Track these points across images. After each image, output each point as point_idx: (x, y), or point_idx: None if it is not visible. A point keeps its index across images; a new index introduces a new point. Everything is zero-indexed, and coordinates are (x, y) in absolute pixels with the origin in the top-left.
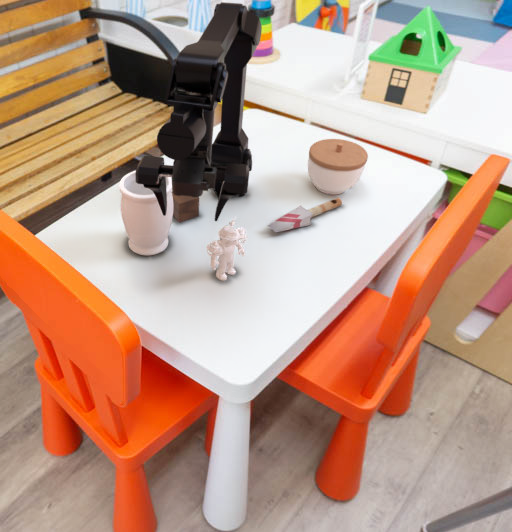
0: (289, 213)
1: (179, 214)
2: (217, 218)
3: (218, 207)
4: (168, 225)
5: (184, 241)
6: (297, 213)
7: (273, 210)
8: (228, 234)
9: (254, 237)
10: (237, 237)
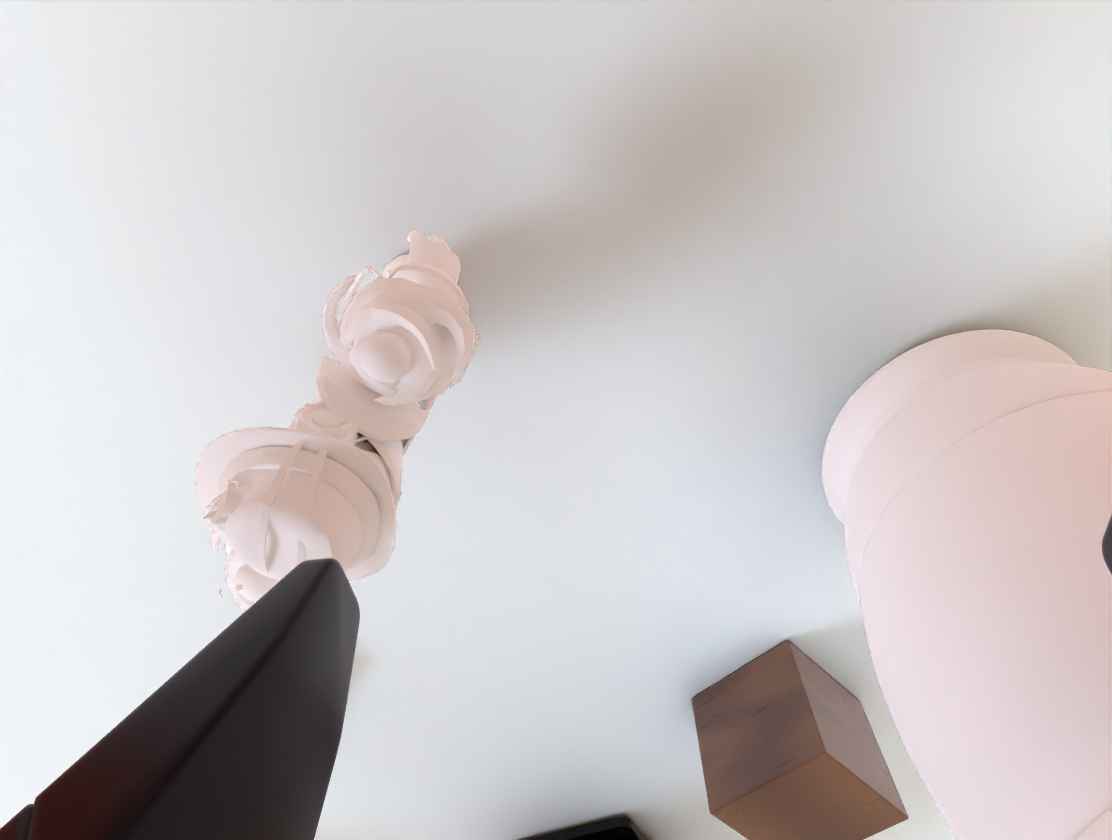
0: None
1: (799, 684)
2: (270, 591)
3: (128, 792)
4: (883, 543)
5: (725, 515)
6: None
7: (357, 791)
8: (273, 486)
9: (369, 625)
10: (211, 487)
